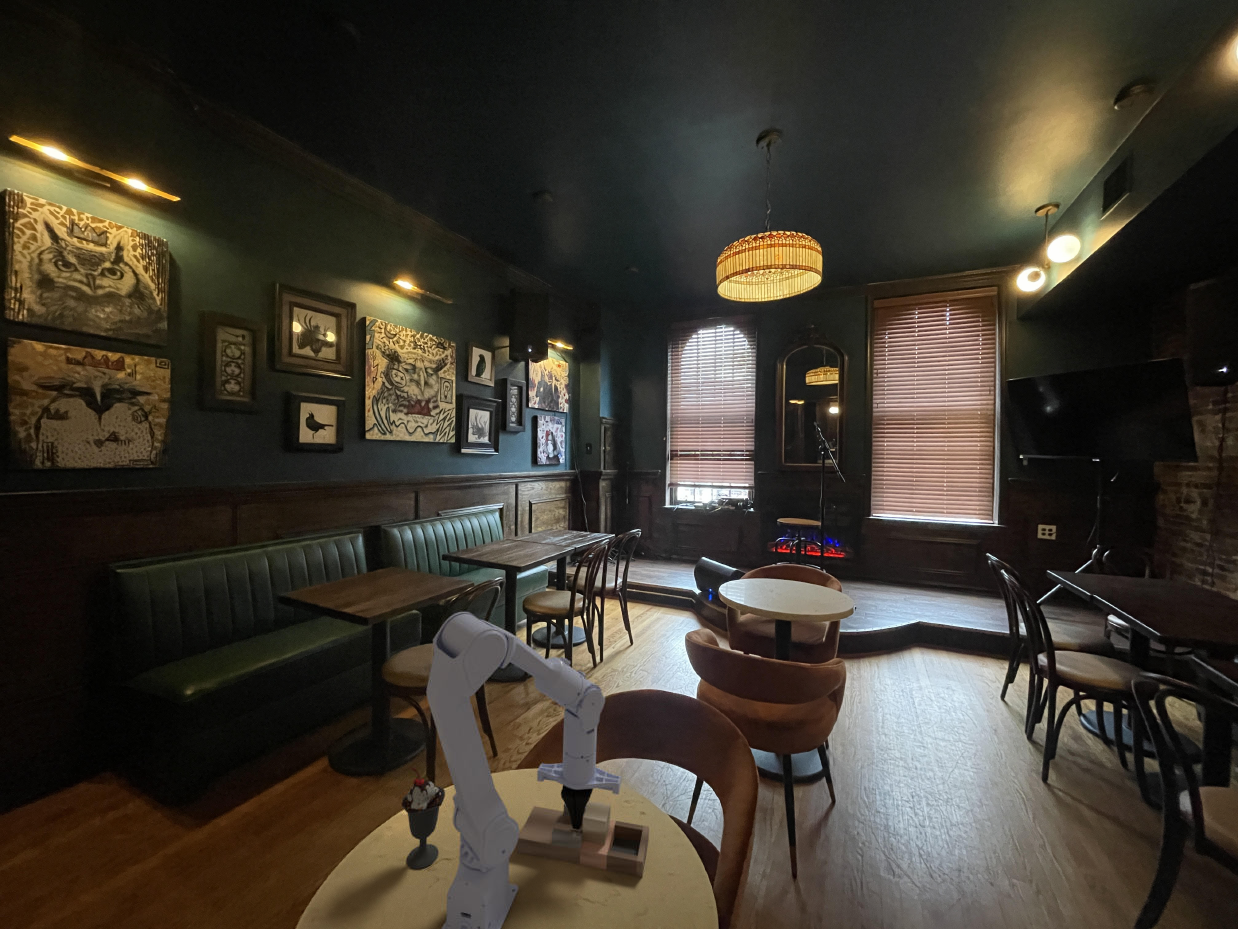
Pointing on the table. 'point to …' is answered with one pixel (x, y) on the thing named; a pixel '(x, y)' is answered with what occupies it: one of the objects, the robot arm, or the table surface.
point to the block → (596, 822)
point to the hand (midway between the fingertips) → (577, 825)
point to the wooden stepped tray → (584, 842)
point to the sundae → (423, 819)
